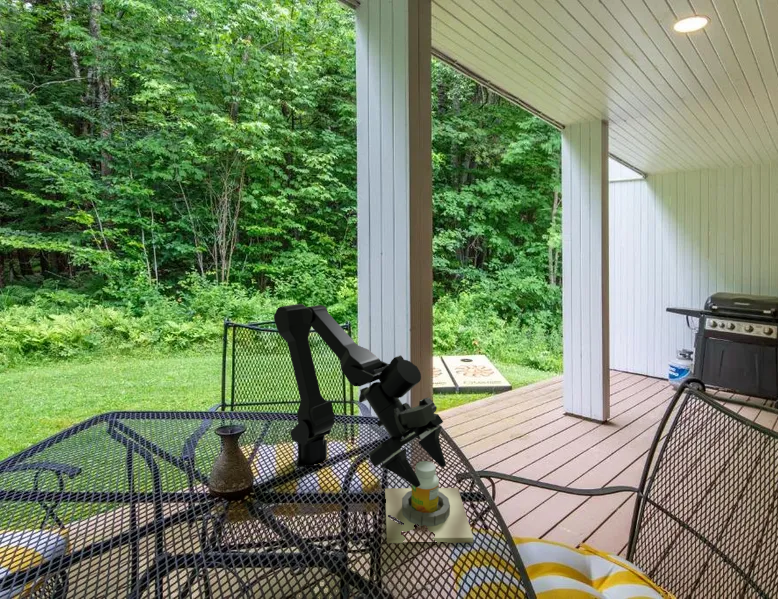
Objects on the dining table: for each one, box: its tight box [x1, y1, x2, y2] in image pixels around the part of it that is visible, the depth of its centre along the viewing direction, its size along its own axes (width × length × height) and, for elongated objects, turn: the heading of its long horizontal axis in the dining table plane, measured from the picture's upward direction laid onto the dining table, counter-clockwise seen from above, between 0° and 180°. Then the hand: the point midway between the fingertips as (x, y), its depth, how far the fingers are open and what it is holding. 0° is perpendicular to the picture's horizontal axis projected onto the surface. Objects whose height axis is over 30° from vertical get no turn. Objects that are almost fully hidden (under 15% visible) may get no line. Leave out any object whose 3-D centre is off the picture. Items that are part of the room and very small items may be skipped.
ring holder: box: [384, 487, 474, 544], centre depth 90 cm, size 16×16×3 cm
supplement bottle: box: [411, 460, 440, 513], centre depth 90 cm, size 5×5×10 cm
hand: (431, 475), depth 88 cm, fingers open, 9 cm apart
